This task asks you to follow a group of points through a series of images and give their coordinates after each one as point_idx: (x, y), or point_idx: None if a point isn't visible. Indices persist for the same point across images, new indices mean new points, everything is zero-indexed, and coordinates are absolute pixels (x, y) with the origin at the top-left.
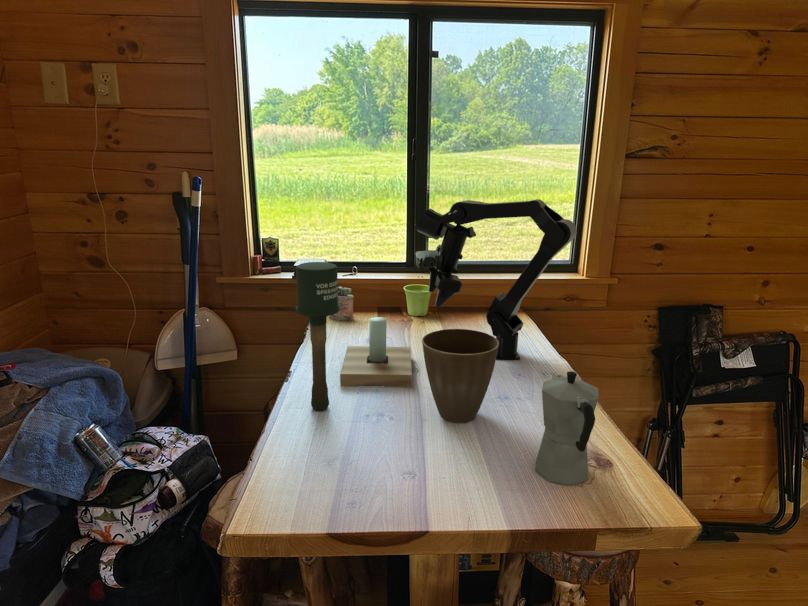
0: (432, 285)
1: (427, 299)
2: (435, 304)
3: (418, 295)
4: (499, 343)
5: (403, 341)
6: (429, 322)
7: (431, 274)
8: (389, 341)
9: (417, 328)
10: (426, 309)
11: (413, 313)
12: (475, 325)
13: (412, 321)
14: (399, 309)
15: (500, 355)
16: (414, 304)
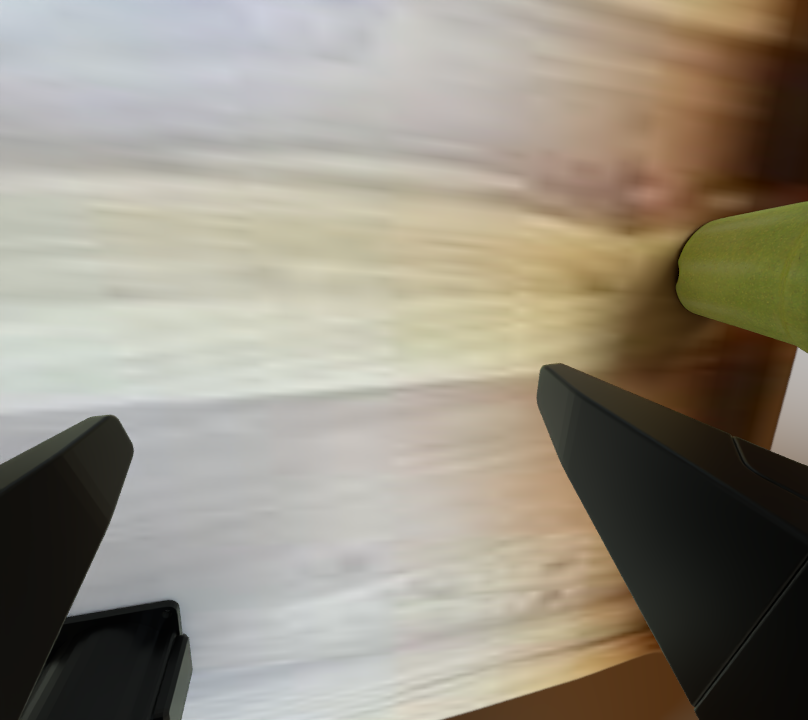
0: (588, 438)
1: (767, 327)
2: (80, 426)
3: (798, 271)
4: (23, 713)
5: (289, 137)
6: (589, 319)
7: (800, 549)
8: (282, 34)
9: (510, 249)
10: (710, 314)
11: (696, 243)
12: (529, 518)
13: (614, 232)
14: (786, 180)
15: (54, 653)
16: (744, 246)
